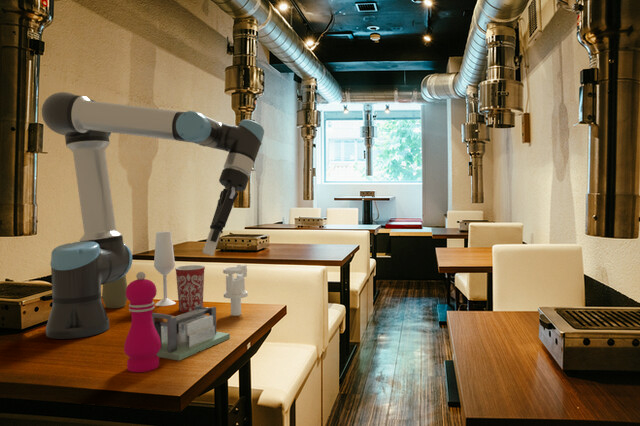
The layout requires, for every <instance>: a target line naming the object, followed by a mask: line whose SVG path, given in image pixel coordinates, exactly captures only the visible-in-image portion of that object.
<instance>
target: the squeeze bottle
mask: <svg viewBox="0 0 640 426" xmlns="http://www.w3.org/2000/svg"><path fill="white" fill-rule="evenodd" d="M127 286H128V282H127V274H126V275H124V276H123V277H122V278H120V279H118V280H116V281H114V282H109V283H105V284H103V285H102V288H101V300H102V301H103V305H104V307H105V308H106V309H120V308H123V307H125V306H126V303H127V301H128V299H127V297H126V288H127Z"/></svg>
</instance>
